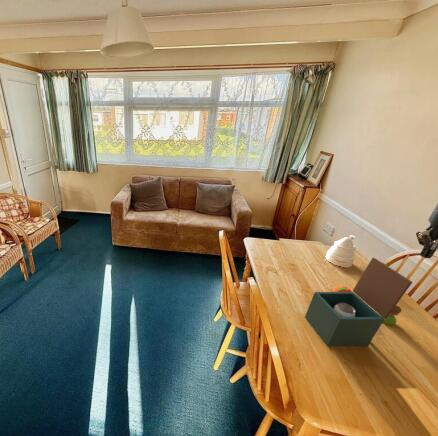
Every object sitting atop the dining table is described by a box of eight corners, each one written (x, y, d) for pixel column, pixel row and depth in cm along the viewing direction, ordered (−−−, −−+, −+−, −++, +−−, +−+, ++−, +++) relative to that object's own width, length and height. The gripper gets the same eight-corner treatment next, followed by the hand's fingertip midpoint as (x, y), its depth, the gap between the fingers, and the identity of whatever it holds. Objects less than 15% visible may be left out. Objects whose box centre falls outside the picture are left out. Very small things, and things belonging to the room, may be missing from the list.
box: (327, 346, 88) (340, 319, 82) (304, 316, 101) (314, 291, 95) (368, 346, 88) (384, 319, 82) (340, 317, 101) (352, 291, 95)
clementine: (338, 305, 108) (344, 293, 105) (326, 294, 114) (330, 283, 111) (353, 303, 109) (359, 291, 106) (339, 292, 115) (345, 281, 112)
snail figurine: (370, 315, 102) (382, 295, 97) (389, 320, 99) (402, 300, 94) (375, 324, 98) (387, 303, 93) (395, 330, 95) (409, 309, 90)
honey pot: (344, 257, 144) (355, 232, 136) (356, 269, 132) (368, 242, 125) (321, 254, 146) (330, 229, 139) (331, 266, 135) (342, 240, 128)
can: (349, 337, 91) (361, 315, 86) (331, 334, 92) (341, 312, 87) (339, 323, 97) (350, 302, 92) (322, 321, 98) (332, 300, 93)
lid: (410, 281, 75) (412, 282, 75) (372, 257, 88) (374, 257, 88) (384, 318, 82) (386, 318, 82) (352, 291, 95) (354, 291, 95)
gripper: (446, 216, 69) (417, 263, 76) (489, 216, 69) (457, 263, 76) (419, 207, 76) (395, 251, 83) (458, 207, 76) (431, 251, 83)
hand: (424, 256), depth 79 cm, fingers closed
